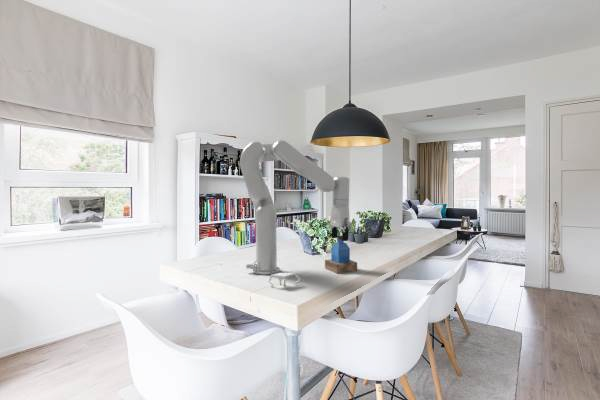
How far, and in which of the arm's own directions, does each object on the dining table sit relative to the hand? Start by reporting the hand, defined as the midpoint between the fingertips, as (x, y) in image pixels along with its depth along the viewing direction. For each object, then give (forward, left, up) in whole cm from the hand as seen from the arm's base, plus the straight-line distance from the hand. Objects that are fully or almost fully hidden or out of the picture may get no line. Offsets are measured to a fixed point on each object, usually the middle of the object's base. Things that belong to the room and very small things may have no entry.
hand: (339, 239), depth 157 cm
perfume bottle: (0, 0, -11) cm, 11 cm away
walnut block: (+1, 0, -15) cm, 15 cm away
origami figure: (-33, -13, -15) cm, 39 cm away
